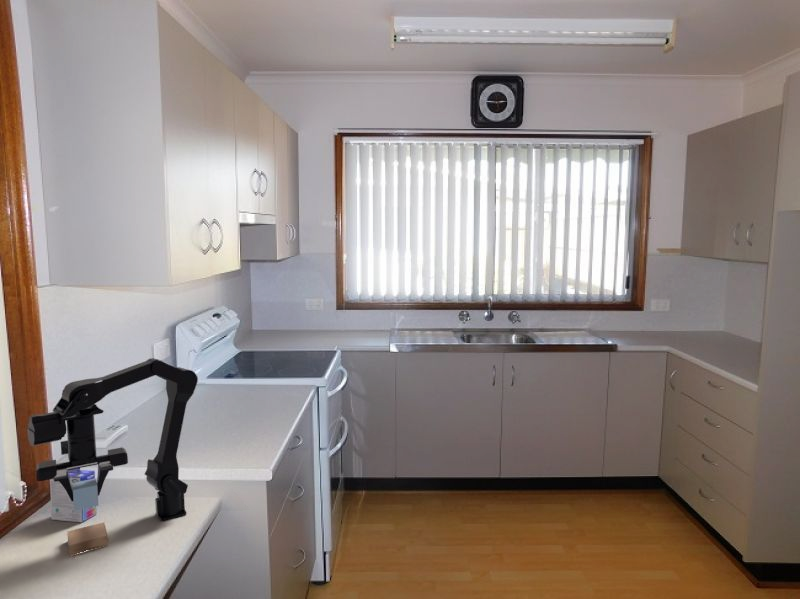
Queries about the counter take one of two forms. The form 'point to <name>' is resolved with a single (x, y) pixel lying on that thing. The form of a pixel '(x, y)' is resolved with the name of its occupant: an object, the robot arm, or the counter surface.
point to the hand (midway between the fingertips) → (85, 498)
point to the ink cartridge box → (61, 501)
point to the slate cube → (85, 494)
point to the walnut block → (87, 538)
